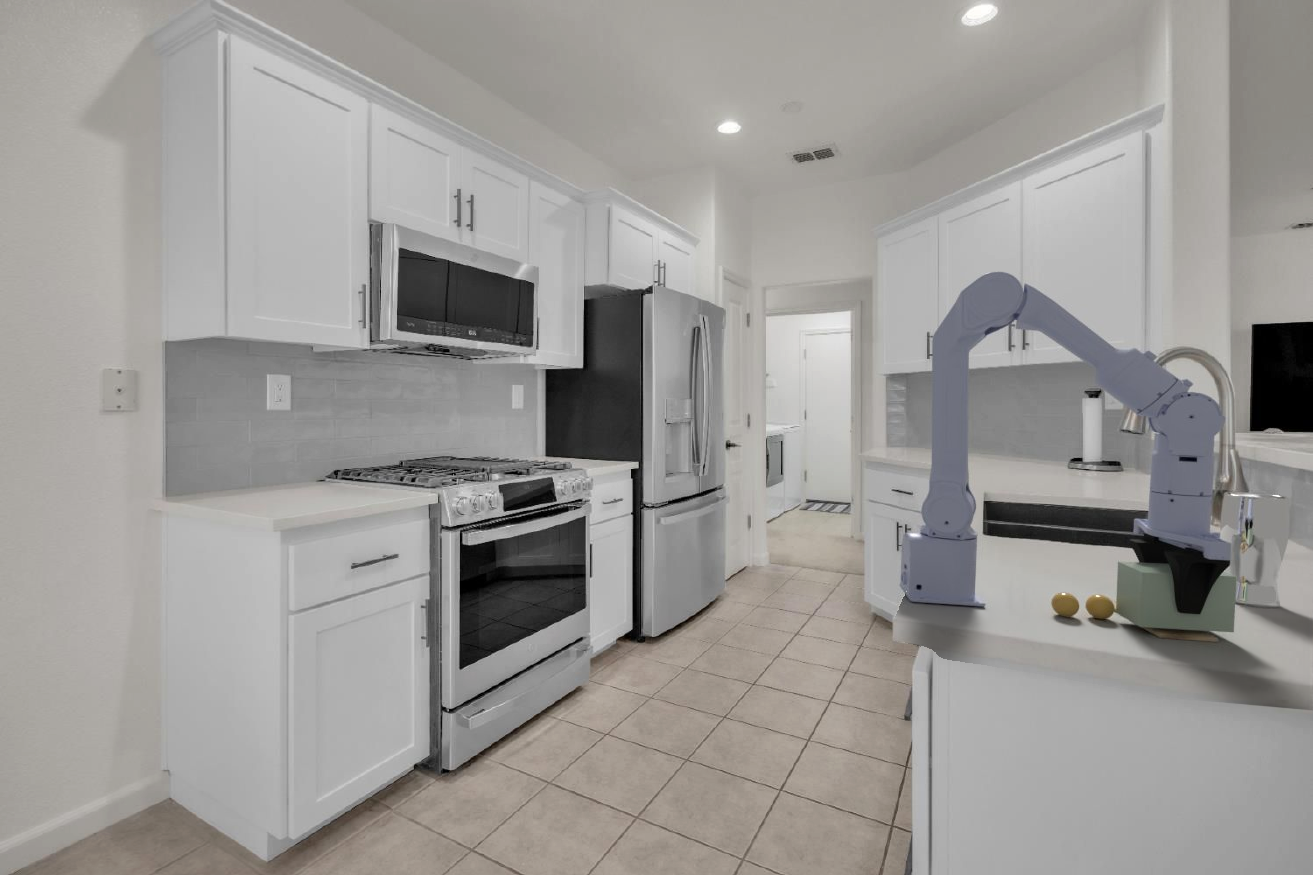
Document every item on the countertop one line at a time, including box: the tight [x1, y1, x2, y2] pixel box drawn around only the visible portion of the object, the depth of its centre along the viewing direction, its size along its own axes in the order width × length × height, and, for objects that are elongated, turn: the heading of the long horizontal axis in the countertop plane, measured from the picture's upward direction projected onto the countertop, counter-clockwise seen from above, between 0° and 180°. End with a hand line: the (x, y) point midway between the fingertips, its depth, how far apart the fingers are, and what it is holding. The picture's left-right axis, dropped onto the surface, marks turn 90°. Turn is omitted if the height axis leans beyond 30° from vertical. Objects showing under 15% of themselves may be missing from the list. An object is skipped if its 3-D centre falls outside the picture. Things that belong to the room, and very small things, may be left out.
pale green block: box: [1115, 561, 1236, 633], centre depth 75 cm, size 10×5×6 cm, turn 80°
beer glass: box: [1219, 491, 1291, 609], centre depth 87 cm, size 7×7×15 cm
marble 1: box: [1051, 591, 1080, 618], centre depth 80 cm, size 3×3×3 cm
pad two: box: [1141, 627, 1219, 643], centre depth 75 cm, size 6×6×1 cm
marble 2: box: [1085, 594, 1115, 620], centre depth 79 cm, size 3×3×3 cm
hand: (1173, 605), depth 75 cm, fingers closed on pale green block, 5 cm apart
